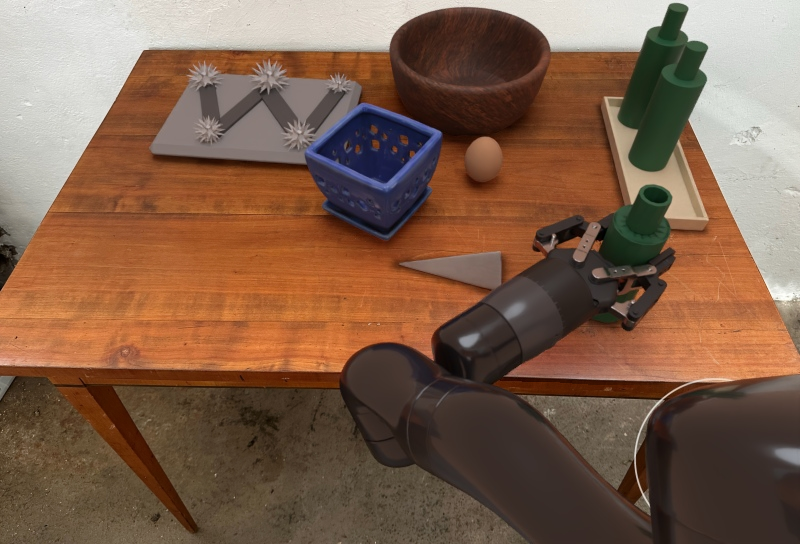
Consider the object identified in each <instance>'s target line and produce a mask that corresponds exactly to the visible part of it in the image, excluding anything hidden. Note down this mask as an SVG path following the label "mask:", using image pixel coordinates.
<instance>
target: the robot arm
mask: <svg viewBox="0 0 800 544" xmlns="http://www.w3.org/2000/svg"><path fill="white" fill-rule="evenodd" d="M614 213H615V212H610V213H609V214H607V215H605V216H604V217H603V218H601V219H600V220H599V219H598V220H597V221H591V222H588V221H586V220H585V218H584V216H583V215H581V214H574V215H572V216H569V217H567V218H565V219H561V220H559V221H556V222H554V223H552V224H549V225H547V226H544V227H541V228H539V229H537V230H536V231H535V235H534V238H533V242H532V247H531V248H532V250H533V252H535V253H541V254H542V255H543V257H545V258H542V259H540V260H538V261H536V262H535V263H534V264H532V265H531V266H529V267H527V268H526V269H523V270H522V271H520V272H518V273H517V274H516V275H515V276H513V277H511V278H510V279H508V280H506V281H504V282H503V283H501V285H500V286H498V287H497V288H495V289H494V290H491V291H489V292H488V293H487V294H486V295H485V296H484V297H482V298H481V299H480V300H479V301H477V302H476V303H474V304H473V305H471V306H470V307H468V308H466V309H465V310H463V311H462V312H459V313H458V314H456V315H455V316H454V317H451V318H450V319H448V320H446V322H444V323H443V324H441V325H439V327H437V328H436V329H435V330H434V331H433V333H432V336H431V340H430V346H431V353H432V358H433V359H432V358H430V357H429V356H428V355H426V354H425V353H423V352H421V351H420V350H418V349H416V348H414V347H412V346H410V345H407V344H404V343H400V342H396V341H395V342H394V341H381V342H376V343H372V344H369V345H368V344H367V345H366V346H364V347H362V348H359V349H358V350H357V351H356V352H354V353H353V354H352V355H350V357H349V358H348V359H347V360H346V361H345V363H344V365H343V367H342V369H341V371H340V375H339V380H338V384H339V385H338V387H339V392H340V395H341V398H342V400H343V402H344V404H345V406H346V408H347V410H348V412H349V414H350V416H351V418H352V420H353V421H354V423H355V425H356V428H357V429H358V431H359V432H360V435H361V437H362V439H363V441H364V442H365V445H366V447H367V449H368V450H369V452H370V454H371V455H372V457H373V458H374V459H375V461H376V462H377V463H379V464H380V465H382V466H384V467H387V468H391V469H392V468H393V469H401V468H407V467H410V466H413V465H416V466H417V467H419V468H420V469H422V470H423V471H425V472H427V473H428V474H430V475H432V476H434V477H436V478H438V479H439V480H441V481H443V482H444V483H446V484H448V485H450V486H451V487H453V488H455V489H456V490H459V491H460V492H463V493H464V494H466V495H468V496H469V497H471V498H472V499H473V500H475V501H477V502H478V503H480V504H481V505H483V506H484V507H485V508H487V509H488V510H489V511H491V512H492V513H494V514H495V515H496V516H497V517H498V518H500V519H501V520H502V521H504V523H506V524H507V525H508V526H509V527H510V528H511V529H513V530H514V531H515V532H516V533H517V534H519V536H521V537H522V538H523V539H524V540H525V541H526V542H527V543H528V544H800V373H792V374H791V373H789V374H782V375H781V374H780V375H770V376H760V377H751V378H742V379H734V380H727V381H721V382H716V383H711V384H707V385H703V386H698V387H695V388H692V389H689V390H686V391H683V392H680V393H678V394H676V395H673V396H672V397H670V398H667V399H665V400H664V401H663V402H662V403H660V404H659V405H658V406H657V407H656V408H655V409H654V410H653V411H652V413H651V415H650V416H649V418H648V421H647V424H646V431H645V439H644V440H645V445H644V454H645V475H646V476H645V477H646V479H645V480H646V487H647V490H648V504H649V513H650V514H649V513H647V512H646V511H644V510H642V509H641V508H639V506H637V505H636V504H634V503H633V502H632V501H631V500H629V499H628V498H627V497H625V496H624V495H623V494H622V493H621V492H620V491H619V490H617V489H616V488H615V486H613V485H612V484H611V483H610V482H609V481H608V480H606V478H604V476H602V475H601V474H600V473H599V472H598V471H597V470H596V469H595V467H593V466H592V465H591V463H589V462H588V461H587V460H586V458H585V457H584V456H583V455H582V454H581V453H580V452H579V451H578V449H576V448H575V446H573V444H572V443H571V442H570V441H569V440H568V439H567V438H566V437H565V436H564V435H563V434H562V433H561V432H560V431H559V429H558V428H557V427H556V426H555V425H554V424H553V423H552V422H551V421H550V420H549V419H548V418H547V417H546V416H545V415H544V414H543V413H541V411H539V410H538V409H537V408H535V407H534V406H533V405H532V404H531V403H529V402H528V401H527V400H525V399H524V398H522V397H521V396H519V395H518V394H516V393H514V392H512V391H510V390H508V389H506V388H503V387H500V386H497V385H495V383H497V382H499V381H500V380H501V379H503V378H504V377H506V376H508V374H510V373H512V372H513V371H515V370H516V369H517V368H518V367H520V366H522V365H523V364H525V363H527V362H530V361H531V360H533V359H535V358H537V357H539V356H540V355H542V354H543V353H545V352H547V351H549V350H551V349H552V348H554V347H555V346H556V345H557V344H558V343H560V341H561V340H563V339H565V338H566V337H567V336H569V335H571V334H572V333H573V332H574V331H576V330H577V329H579V328H581V327H582V326H583V325H584V324H586V323H587V322H589V321H590V320H591V319H592V318H593V317H594V316H596V315H599V314H606V313H610V314H612V315H613V316H615V317H616V318H618V319H619V320H618V321H621V323H620V327H621V329H622V330H623V331H625V332H632V331H633V330H634V329H635V328H636V327H637V326H638V325H639V323H640V322H641V321H642V320H643V319H644V318H645V317H646V315H648V313H649V312H650V311H651V310H652V308H654V306H655V305H656V304H657V303H658V302H659V300H660V298H661V297H662V296H663V293H665V291H666V289H667V287H668V283H667V281H666V280H664V279H662V278H660V277H661V276H662V275H663V276H664V274H666V273H667V272H668V271H670V269H671V268H672V266H673V264H674V263H675V261H676V259H677V257H676V256H675V254H676V253H677V251H676V250H675V249H674V248H672V247H671V246H669V247H667V248H666V249H665V250H662V251H661V252H660V254H659V255H657V256H656V257H655V258H653V259H651V260H650V261H648V263H647V265H641V266H635V267H632V266H631V265H624V266H618V267H616V266H615V265H613V264H612V263H610V262H608V261H607V260H605V259H604V258H603V257H602V256H601V255H600V253H598V250H596V249H595V248H594V249H593V247H594V245H595V243H596V242H599V243H602V241H603V239H604V236H605V234H606V231H607V229H608V227H609V224H610V222H611V220H612V217H613V215H614ZM576 238H579V239H580V241H579V243H578V245H577V247H558V245H561V244H564V243H566V242H569V241H571V240H573V239H576ZM637 289H639V290H642V289H643V291H644V292H643V293H642V294H640V296H639V297H638V298H637V300H635V299H634V300H633V299H632V300H630V301H626V302H625V303H618V302H616V300H617V295H623V294H626V293H628V292H629V291H631V290H637Z"/></svg>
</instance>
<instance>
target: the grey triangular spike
mask: <svg viewBox="0 0 800 544" xmlns="http://www.w3.org/2000/svg"><path fill="white" fill-rule="evenodd" d="M398 266H402V267H404V268H405V267H406V268H407V269H412V270H416V271H419V272H423V273H426V274H431V275H435V276H438V277H442V278H445V279H448V280H453V281H457V282H460V283H463V284H468V285H471V286H475V287H479V288H483V289H486V290H491V291H492V290H494V289H495V288H497V287H498V286H500V285H501V284H502V252H501V251H500V250H496V251H485V252H477V253H469V254H460V255H453V256H445V257H444V256H443V257H437V258H429V259H421V260H414V261H413V260H412V261H405V262H399V263H398Z"/></svg>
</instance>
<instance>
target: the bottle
mask: <svg viewBox="0 0 800 544" xmlns="http://www.w3.org/2000/svg"><path fill="white" fill-rule="evenodd" d="M672 198H673V197H672V195H671V193H670V191H668V190H667V189H665V188H664V187H662V186H659V185H655V184H649V185H645V186H643V187H641V188H640V190H639V192H638V194H637V197H636V199H635V201H634V203H633V204H630V205H626V206H625V205H623V206H620V207H619V208H618V209H617V210H616V211H615V212H613V213H614V215H613V217H612V220H611V222H610V224H609V227H608V229H607V231H606V234H605V236H604V239H603V240H602V241H601V242H600V246H599V248H598V250H597V252H598V253H600V255H601V256H602V257H603V258H604V259H605V260H607V261H608V262H610V263H612V264H613V265H615V266H616V267H618V266H624V265H631V266H632V267H635V266H641V265H647V263H648V261H650V260H651V259H653V258H655V257H656V256H657V255H659V254H660V253H662V251H663V248H665V245H666V244H667V241H668V239H669V238H670V236H671V233H672V232H671V231H672V229H671V227H670V224H669V222H668V220H667V219H666V218H665V217H664V216H665V214H666V212H667V210H668V208H669V206H670V204H671V202H672ZM639 291H640V289H637V290H631V291H629V292H628V293H626V294H623V295H617V300H616V302H618V303H625V302H626V301H630V300H632V299H633V300H635V298H636V296H637V295H638V292H639ZM591 319H592V320H594V321H596V322H600V323H604V324H605V323H607V324H611V323H616V322H617V321H620V320H619V319H618V318H616V317H615V316H613V315H612V314H610V313H606V314H599V315H596V316H594V317H593V318H591Z"/></svg>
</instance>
